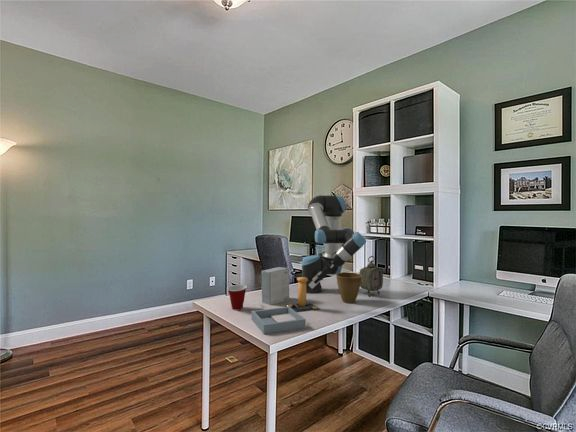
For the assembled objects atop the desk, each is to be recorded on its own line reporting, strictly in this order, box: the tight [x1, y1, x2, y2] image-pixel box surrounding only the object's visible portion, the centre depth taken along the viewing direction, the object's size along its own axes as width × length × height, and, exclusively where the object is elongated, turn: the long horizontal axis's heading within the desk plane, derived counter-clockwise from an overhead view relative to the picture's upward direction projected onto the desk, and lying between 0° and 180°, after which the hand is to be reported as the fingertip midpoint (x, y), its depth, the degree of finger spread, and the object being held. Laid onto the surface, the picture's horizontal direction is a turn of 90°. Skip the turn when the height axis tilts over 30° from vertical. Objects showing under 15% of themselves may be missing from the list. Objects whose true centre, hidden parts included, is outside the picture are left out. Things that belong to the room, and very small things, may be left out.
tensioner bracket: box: [284, 302, 321, 313], centre depth 165 cm, size 16×12×3 cm
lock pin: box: [296, 276, 308, 307], centre depth 165 cm, size 6×6×16 cm
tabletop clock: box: [358, 255, 384, 297], centre depth 197 cm, size 14×9×25 cm, turn 131°
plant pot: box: [336, 271, 362, 304], centre depth 182 cm, size 15×15×16 cm
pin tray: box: [251, 306, 306, 335], centre depth 146 cm, size 20×20×4 cm
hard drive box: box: [261, 266, 290, 306], centre depth 177 cm, size 16×8×20 cm, turn 135°
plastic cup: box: [226, 284, 248, 311], centre depth 167 cm, size 11×11×12 cm
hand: (312, 283), depth 162 cm, fingers open, 13 cm apart
